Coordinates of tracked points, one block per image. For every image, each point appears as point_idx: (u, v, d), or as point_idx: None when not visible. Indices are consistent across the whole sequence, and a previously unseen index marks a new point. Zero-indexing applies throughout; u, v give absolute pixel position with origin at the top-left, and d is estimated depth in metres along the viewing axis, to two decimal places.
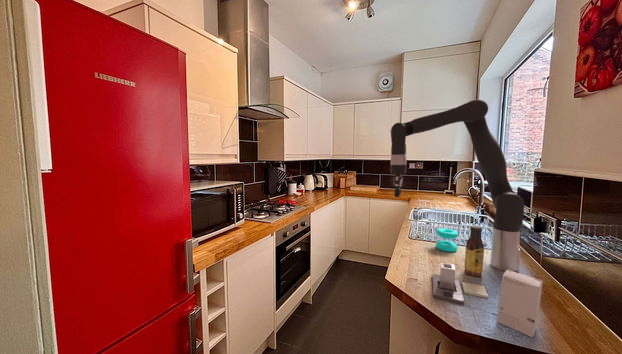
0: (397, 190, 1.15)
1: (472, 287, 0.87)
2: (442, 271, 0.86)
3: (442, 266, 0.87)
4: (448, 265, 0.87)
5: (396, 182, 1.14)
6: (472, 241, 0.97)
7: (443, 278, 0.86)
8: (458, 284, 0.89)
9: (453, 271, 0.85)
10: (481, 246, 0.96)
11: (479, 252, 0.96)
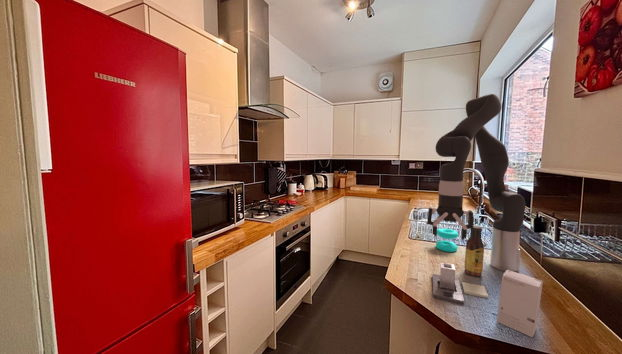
0: None
1: (472, 287, 0.87)
2: (442, 271, 0.86)
3: (442, 266, 0.87)
4: (448, 265, 0.87)
5: (472, 219, 0.83)
6: (472, 241, 0.97)
7: (443, 278, 0.86)
8: (458, 284, 0.89)
9: (453, 271, 0.85)
10: (481, 246, 0.96)
11: (479, 252, 0.96)
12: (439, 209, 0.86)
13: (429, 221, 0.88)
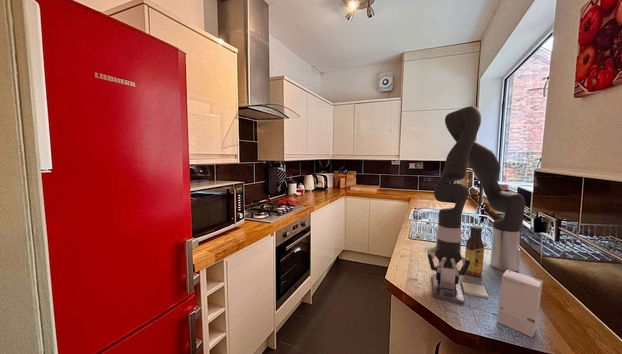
0: None
1: (472, 287, 0.87)
2: (442, 271, 0.86)
3: None
4: (448, 265, 0.87)
5: None
6: (472, 241, 0.97)
7: (443, 277, 0.86)
8: (458, 284, 0.89)
9: (453, 271, 0.85)
10: (481, 246, 0.96)
11: (479, 252, 0.96)
12: (437, 253, 0.87)
13: (432, 267, 0.88)
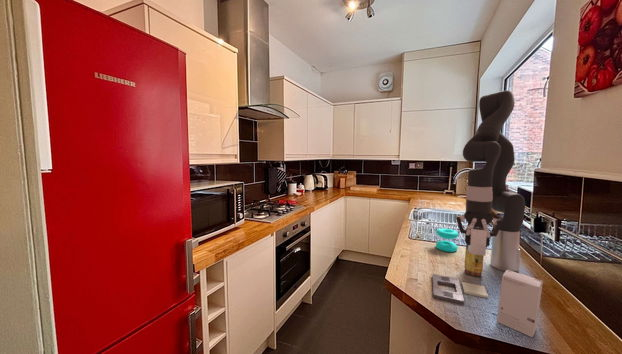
0: None
1: (472, 287, 0.87)
2: (472, 233, 0.84)
3: None
4: (478, 227, 0.85)
5: None
6: None
7: (474, 239, 0.84)
8: (458, 284, 0.89)
9: (484, 232, 0.82)
10: None
11: None
12: (466, 215, 0.85)
13: (461, 230, 0.86)
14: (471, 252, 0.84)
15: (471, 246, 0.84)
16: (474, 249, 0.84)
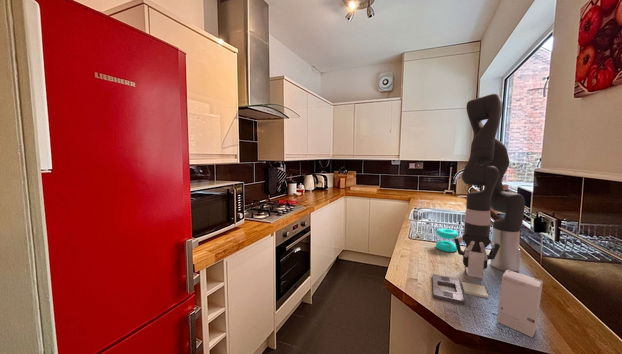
0: None
1: (472, 287, 0.87)
2: (470, 255, 0.85)
3: None
4: None
5: None
6: None
7: (471, 262, 0.85)
8: (458, 284, 0.89)
9: (482, 255, 0.83)
10: None
11: None
12: (464, 237, 0.86)
13: (459, 251, 0.87)
14: (469, 274, 0.85)
15: (469, 268, 0.85)
16: (472, 271, 0.85)
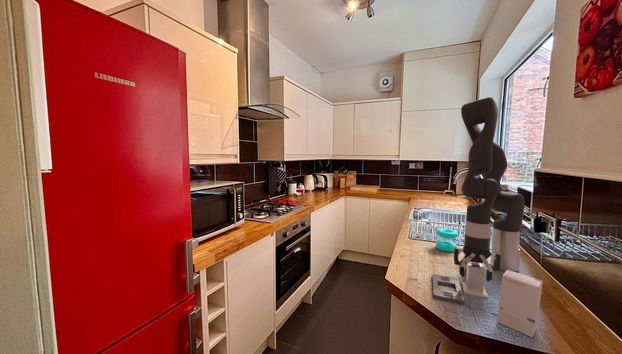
0: None
1: None
2: (470, 270, 0.85)
3: (470, 265, 0.86)
4: (476, 264, 0.86)
5: None
6: None
7: (471, 277, 0.85)
8: (458, 284, 0.89)
9: (482, 270, 0.83)
10: None
11: None
12: (465, 249, 0.86)
13: (456, 261, 0.88)
14: (469, 289, 0.86)
15: (469, 283, 0.85)
16: (472, 286, 0.85)
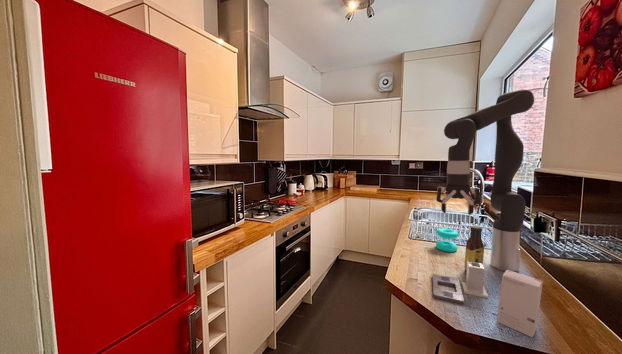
0: None
1: None
2: (470, 270, 0.85)
3: (470, 265, 0.86)
4: (476, 264, 0.86)
5: (478, 195, 0.90)
6: (472, 241, 0.97)
7: (471, 277, 0.85)
8: (458, 284, 0.89)
9: (482, 270, 0.83)
10: (481, 246, 0.96)
11: (479, 252, 0.96)
12: (448, 187, 0.93)
13: (438, 199, 0.95)
14: (469, 289, 0.86)
15: (469, 283, 0.85)
16: (472, 286, 0.85)
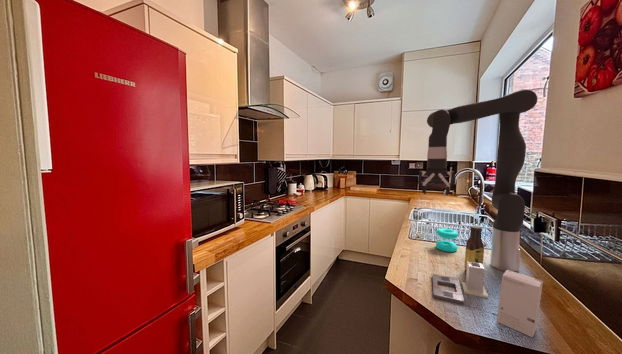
0: (449, 187, 1.02)
1: None
2: (470, 270, 0.85)
3: (470, 265, 0.86)
4: (476, 264, 0.86)
5: (454, 178, 1.01)
6: (472, 241, 0.97)
7: (471, 277, 0.85)
8: (458, 284, 0.89)
9: (482, 270, 0.83)
10: (481, 246, 0.96)
11: (479, 252, 0.96)
12: (427, 171, 1.04)
13: (419, 181, 1.06)
14: (469, 289, 0.86)
15: (469, 283, 0.85)
16: (472, 286, 0.85)
